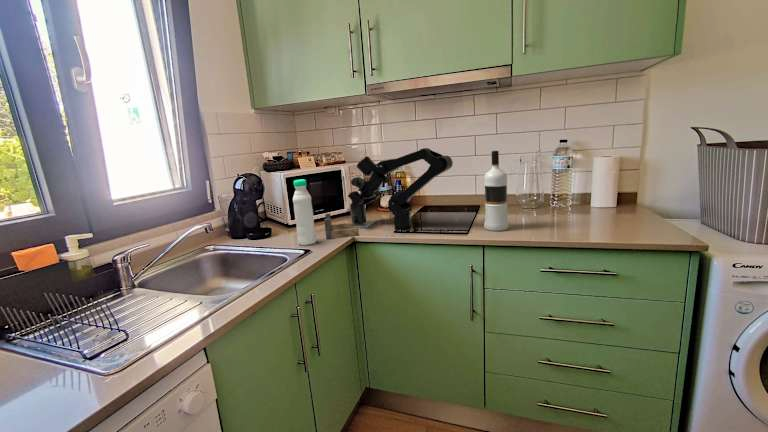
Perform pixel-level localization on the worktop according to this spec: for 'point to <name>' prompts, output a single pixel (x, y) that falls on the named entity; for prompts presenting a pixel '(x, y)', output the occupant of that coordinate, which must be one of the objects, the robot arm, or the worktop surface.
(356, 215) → the supplement bottle
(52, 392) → the worktop surface
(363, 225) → the slate mat
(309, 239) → the milk bottle
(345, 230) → the bracket holder
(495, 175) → the vodka
